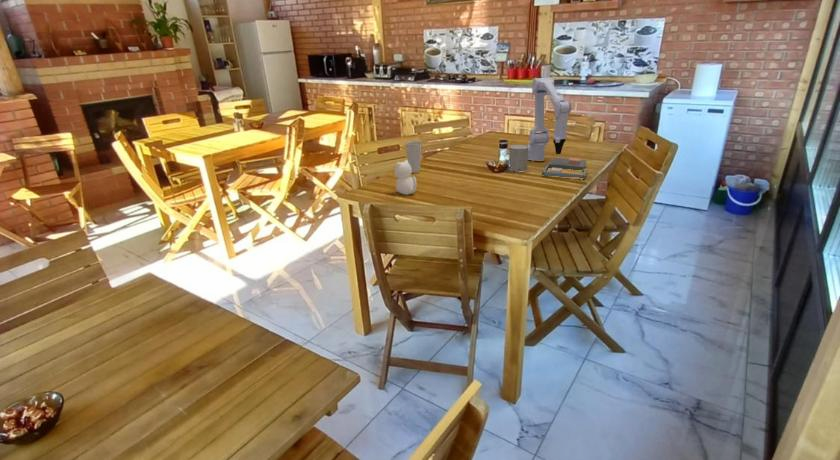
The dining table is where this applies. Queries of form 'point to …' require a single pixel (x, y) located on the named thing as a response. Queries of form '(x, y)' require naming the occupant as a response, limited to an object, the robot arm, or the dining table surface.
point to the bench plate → (566, 164)
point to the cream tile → (557, 170)
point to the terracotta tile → (574, 161)
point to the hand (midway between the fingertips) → (558, 153)
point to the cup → (414, 155)
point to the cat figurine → (405, 178)
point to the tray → (562, 173)
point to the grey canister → (518, 157)
